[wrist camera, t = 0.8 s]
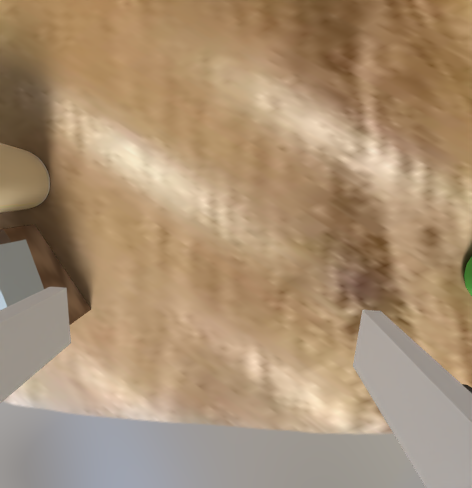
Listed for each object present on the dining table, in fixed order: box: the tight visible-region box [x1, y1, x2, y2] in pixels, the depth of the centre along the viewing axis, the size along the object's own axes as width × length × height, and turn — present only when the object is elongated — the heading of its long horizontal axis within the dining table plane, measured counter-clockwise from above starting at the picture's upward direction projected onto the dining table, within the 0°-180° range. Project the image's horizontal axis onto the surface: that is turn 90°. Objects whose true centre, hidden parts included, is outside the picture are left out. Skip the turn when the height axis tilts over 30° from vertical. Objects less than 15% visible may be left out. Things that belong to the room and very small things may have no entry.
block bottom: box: [0, 225, 91, 325], centre depth 35 cm, size 14×14×5 cm
